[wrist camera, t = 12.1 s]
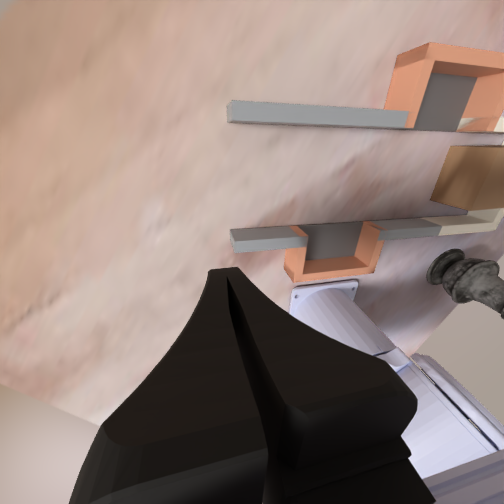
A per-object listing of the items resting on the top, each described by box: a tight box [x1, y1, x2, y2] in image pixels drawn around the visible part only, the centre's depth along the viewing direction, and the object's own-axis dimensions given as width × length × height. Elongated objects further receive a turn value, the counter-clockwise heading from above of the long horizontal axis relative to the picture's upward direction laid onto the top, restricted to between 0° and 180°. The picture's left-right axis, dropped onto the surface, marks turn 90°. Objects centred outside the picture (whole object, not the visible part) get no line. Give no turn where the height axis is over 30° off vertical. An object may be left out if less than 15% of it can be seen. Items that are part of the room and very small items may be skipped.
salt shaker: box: [426, 249, 504, 319], centre depth 23 cm, size 6×6×12 cm
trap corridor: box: [227, 42, 504, 283], centre depth 19 cm, size 17×28×2 cm, turn 89°
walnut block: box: [430, 145, 504, 211], centre depth 20 cm, size 5×6×4 cm
